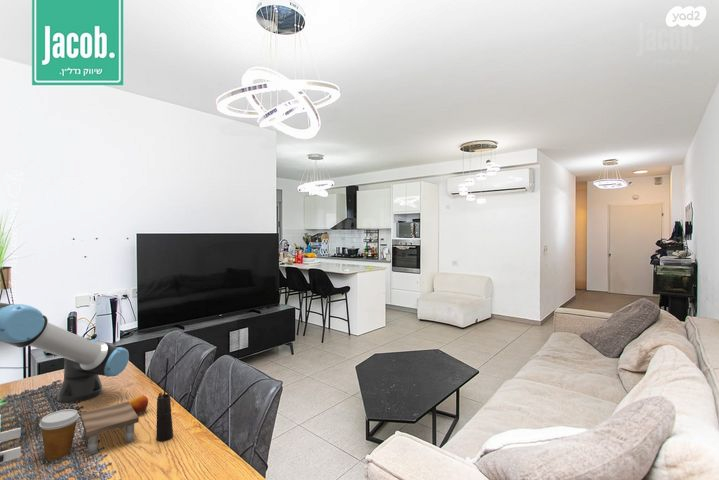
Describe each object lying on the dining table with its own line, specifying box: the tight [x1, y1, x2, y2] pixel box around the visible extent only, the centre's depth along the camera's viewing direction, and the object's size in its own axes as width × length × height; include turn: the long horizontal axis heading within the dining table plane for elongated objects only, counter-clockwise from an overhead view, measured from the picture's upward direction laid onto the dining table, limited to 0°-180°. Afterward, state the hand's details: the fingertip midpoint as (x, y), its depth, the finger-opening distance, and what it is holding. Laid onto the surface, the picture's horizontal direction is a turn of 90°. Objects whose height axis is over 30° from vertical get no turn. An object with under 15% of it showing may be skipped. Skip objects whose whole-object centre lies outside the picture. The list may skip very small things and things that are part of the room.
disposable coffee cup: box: [39, 408, 80, 461], centre depth 110 cm, size 10×10×12 cm
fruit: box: [127, 394, 149, 417], centre depth 136 cm, size 8×8×8 cm
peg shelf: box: [79, 400, 140, 456], centre depth 119 cm, size 16×14×8 cm
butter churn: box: [155, 358, 174, 443], centre depth 121 cm, size 9×10×28 cm
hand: (20, 441), depth 104 cm, fingers open, 13 cm apart
